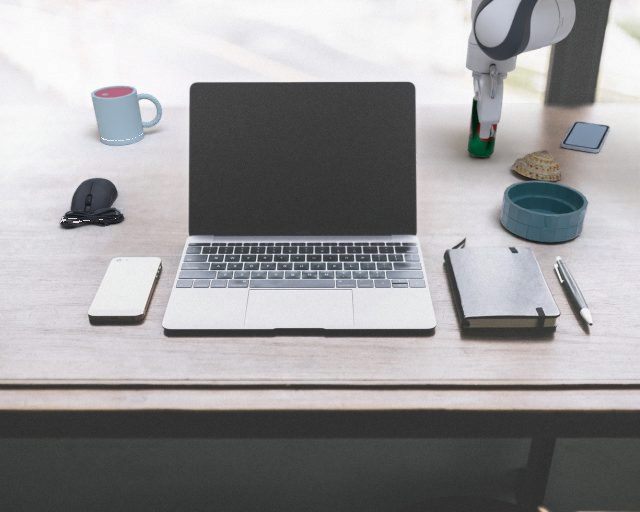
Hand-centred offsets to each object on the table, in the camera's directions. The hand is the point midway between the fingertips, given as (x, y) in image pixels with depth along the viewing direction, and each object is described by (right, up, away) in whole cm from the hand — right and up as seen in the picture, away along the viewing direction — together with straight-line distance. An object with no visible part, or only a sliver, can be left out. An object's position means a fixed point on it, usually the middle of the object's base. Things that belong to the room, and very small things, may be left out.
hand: (482, 131), depth 119 cm
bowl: (+3, -19, -22) cm, 29 cm away
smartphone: (+24, 0, +9) cm, 26 cm away
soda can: (0, -4, +2) cm, 5 cm away
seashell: (+8, -9, -5) cm, 14 cm away
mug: (-72, +2, +15) cm, 74 cm away
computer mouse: (-69, -16, -14) cm, 72 cm away
